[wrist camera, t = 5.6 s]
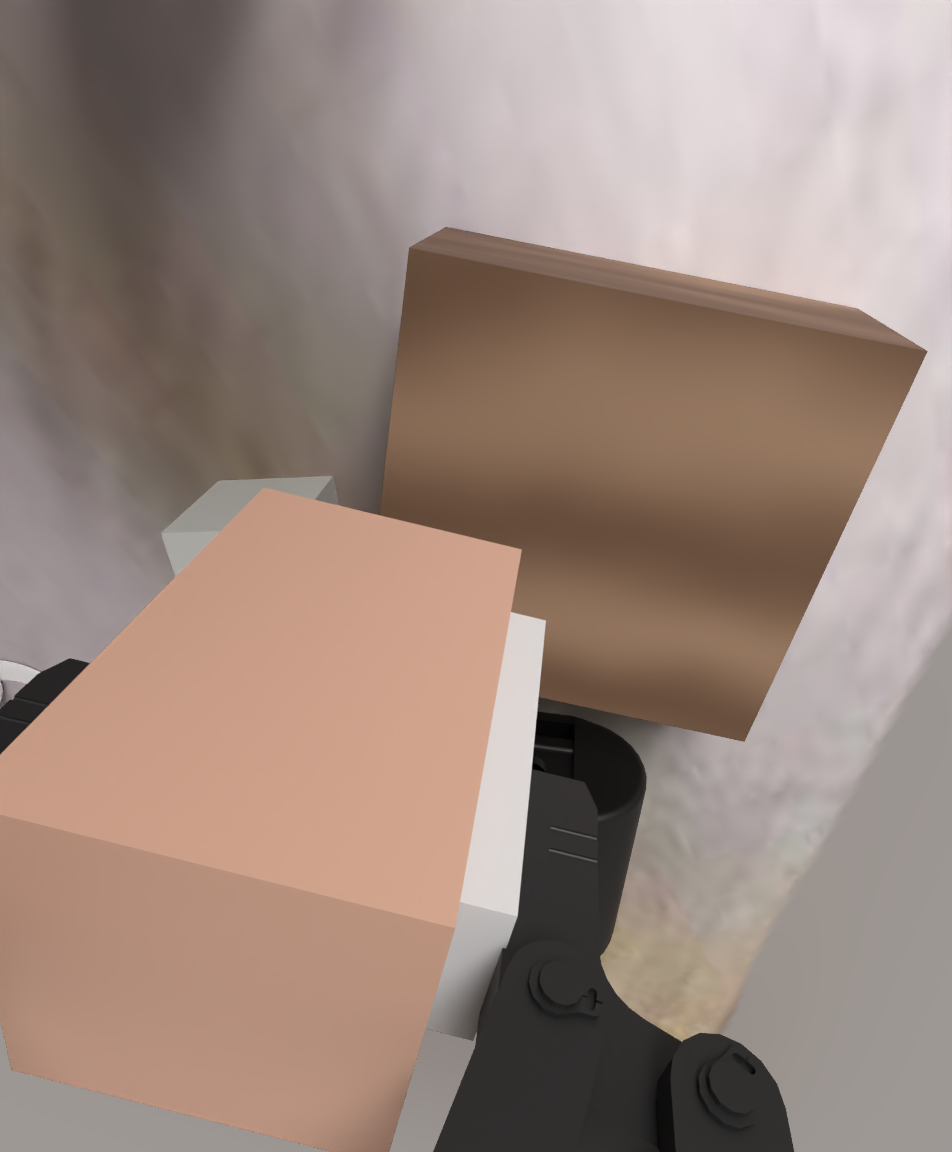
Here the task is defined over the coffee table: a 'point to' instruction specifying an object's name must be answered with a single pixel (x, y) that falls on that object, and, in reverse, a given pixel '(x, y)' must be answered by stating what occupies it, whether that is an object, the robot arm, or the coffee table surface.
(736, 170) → the coffee table surface
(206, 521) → the grey cube
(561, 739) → the end cap
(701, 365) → the walnut block
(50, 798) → the terracotta block
